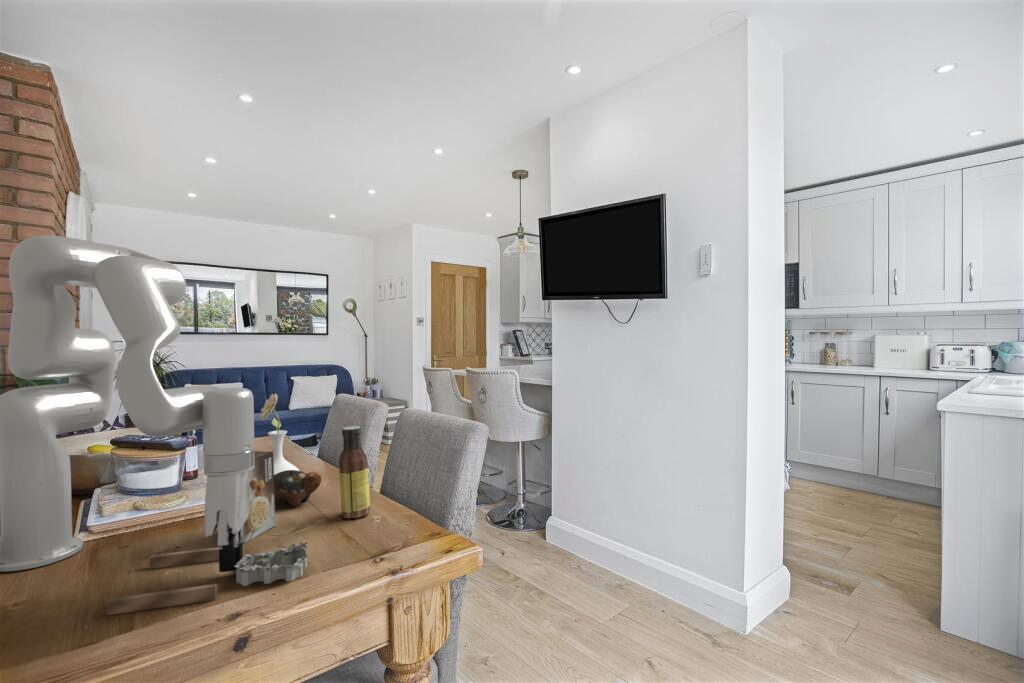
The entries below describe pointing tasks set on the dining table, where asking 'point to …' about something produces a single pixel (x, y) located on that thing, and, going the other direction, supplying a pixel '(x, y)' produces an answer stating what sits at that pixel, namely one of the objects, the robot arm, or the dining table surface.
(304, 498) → the decorative turtle
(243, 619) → the dining table surface
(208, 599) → the pair of wooden bars
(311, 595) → the dining table surface
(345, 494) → the sauce bottle
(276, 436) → the flower in vase
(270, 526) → the coffee box
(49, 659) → the dining table surface
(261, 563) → the egg carton
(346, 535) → the dining table surface
